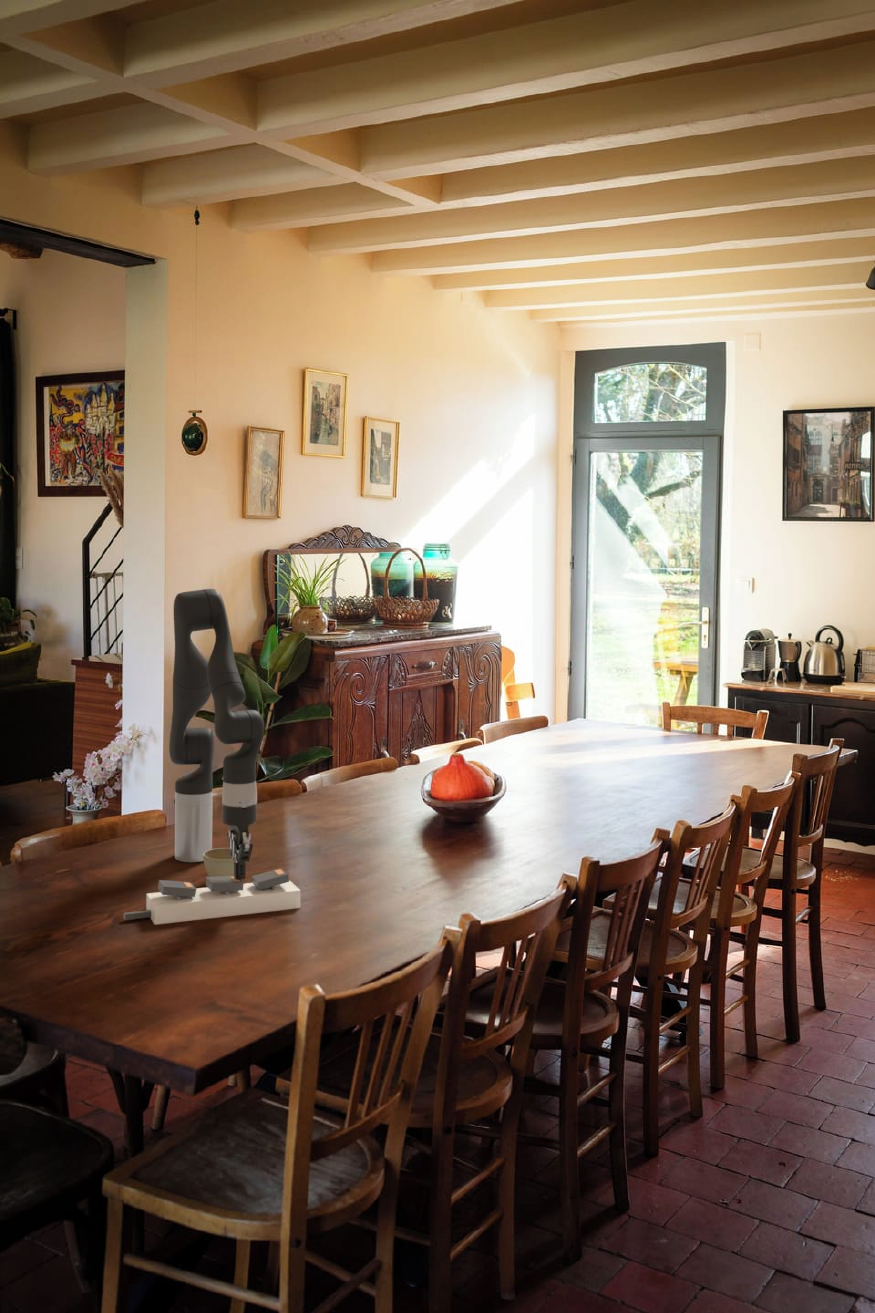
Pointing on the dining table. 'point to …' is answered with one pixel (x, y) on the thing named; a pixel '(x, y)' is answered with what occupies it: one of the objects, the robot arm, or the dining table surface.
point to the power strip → (218, 903)
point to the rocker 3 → (270, 879)
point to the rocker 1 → (176, 888)
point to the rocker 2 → (224, 883)
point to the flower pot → (219, 862)
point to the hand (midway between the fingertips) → (239, 878)
